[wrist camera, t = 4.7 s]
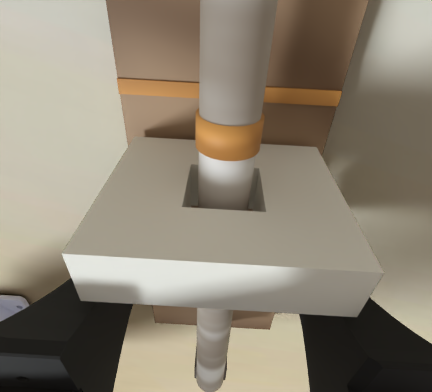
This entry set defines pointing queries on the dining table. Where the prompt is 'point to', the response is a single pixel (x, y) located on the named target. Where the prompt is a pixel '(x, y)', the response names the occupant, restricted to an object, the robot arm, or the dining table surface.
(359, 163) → the dining table surface
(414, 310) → the dining table surface
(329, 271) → the collar
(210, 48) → the slider rail
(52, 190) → the dining table surface
